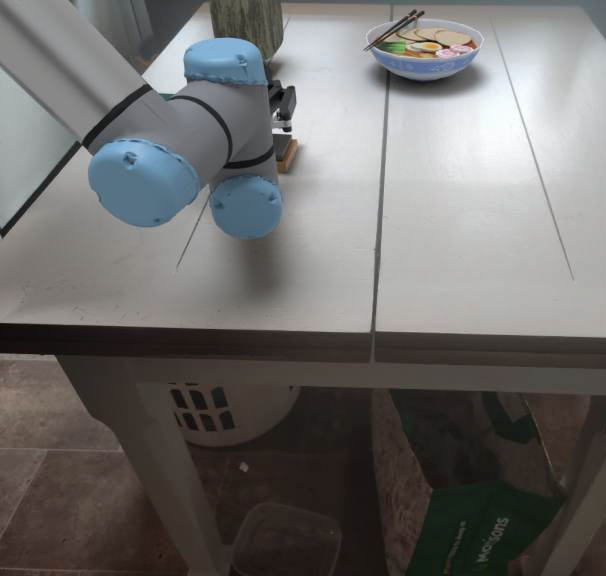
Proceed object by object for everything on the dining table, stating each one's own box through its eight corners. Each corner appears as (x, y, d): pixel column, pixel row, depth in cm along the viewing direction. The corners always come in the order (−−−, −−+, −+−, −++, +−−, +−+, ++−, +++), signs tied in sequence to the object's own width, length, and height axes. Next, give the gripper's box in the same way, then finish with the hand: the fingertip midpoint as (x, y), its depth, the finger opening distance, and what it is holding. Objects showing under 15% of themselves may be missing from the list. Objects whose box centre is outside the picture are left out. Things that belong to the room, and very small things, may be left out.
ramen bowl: (452, 110, 109) (455, 64, 104) (341, 86, 117) (339, 42, 111) (498, 64, 126) (503, 23, 121) (398, 46, 134) (399, 7, 128)
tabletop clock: (246, 58, 128) (227, -79, 111) (288, 61, 127) (275, -77, 110) (222, 86, 117) (197, -62, 101) (268, 89, 116) (250, -60, 100)
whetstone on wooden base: (183, 167, 93) (179, 150, 91) (201, 142, 99) (198, 126, 97) (286, 173, 92) (284, 156, 90) (298, 148, 98) (296, 132, 96)
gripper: (155, 184, 76) (163, 109, 92) (331, 165, 79) (309, 96, 96) (139, 128, 71) (151, 59, 87) (328, 111, 75) (305, 48, 91)
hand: (234, 79), depth 92 cm, fingers closed on pump dispenser, 9 cm apart
